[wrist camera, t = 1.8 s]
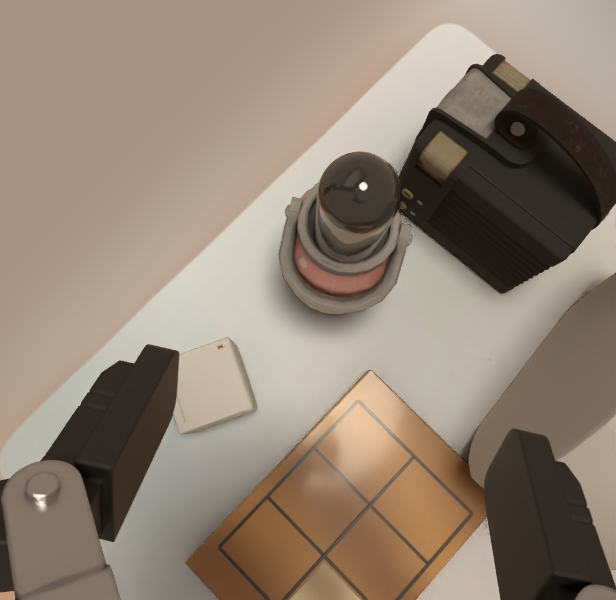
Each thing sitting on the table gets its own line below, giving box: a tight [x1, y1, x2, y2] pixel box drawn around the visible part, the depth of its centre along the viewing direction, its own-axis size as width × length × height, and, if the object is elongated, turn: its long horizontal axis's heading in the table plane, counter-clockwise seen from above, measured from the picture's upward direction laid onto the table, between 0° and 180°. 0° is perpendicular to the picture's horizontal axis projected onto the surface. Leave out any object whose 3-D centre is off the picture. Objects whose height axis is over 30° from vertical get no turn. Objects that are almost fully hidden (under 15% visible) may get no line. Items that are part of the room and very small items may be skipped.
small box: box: [173, 337, 257, 434], centre depth 42 cm, size 6×6×5 cm
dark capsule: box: [313, 152, 401, 263], centre depth 31 cm, size 4×4×8 cm
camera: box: [398, 54, 616, 293], centre depth 41 cm, size 11×14×15 cm
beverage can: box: [279, 183, 412, 314], centre depth 41 cm, size 9×8×12 cm
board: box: [186, 370, 487, 600], centre depth 42 cm, size 20×14×1 cm
